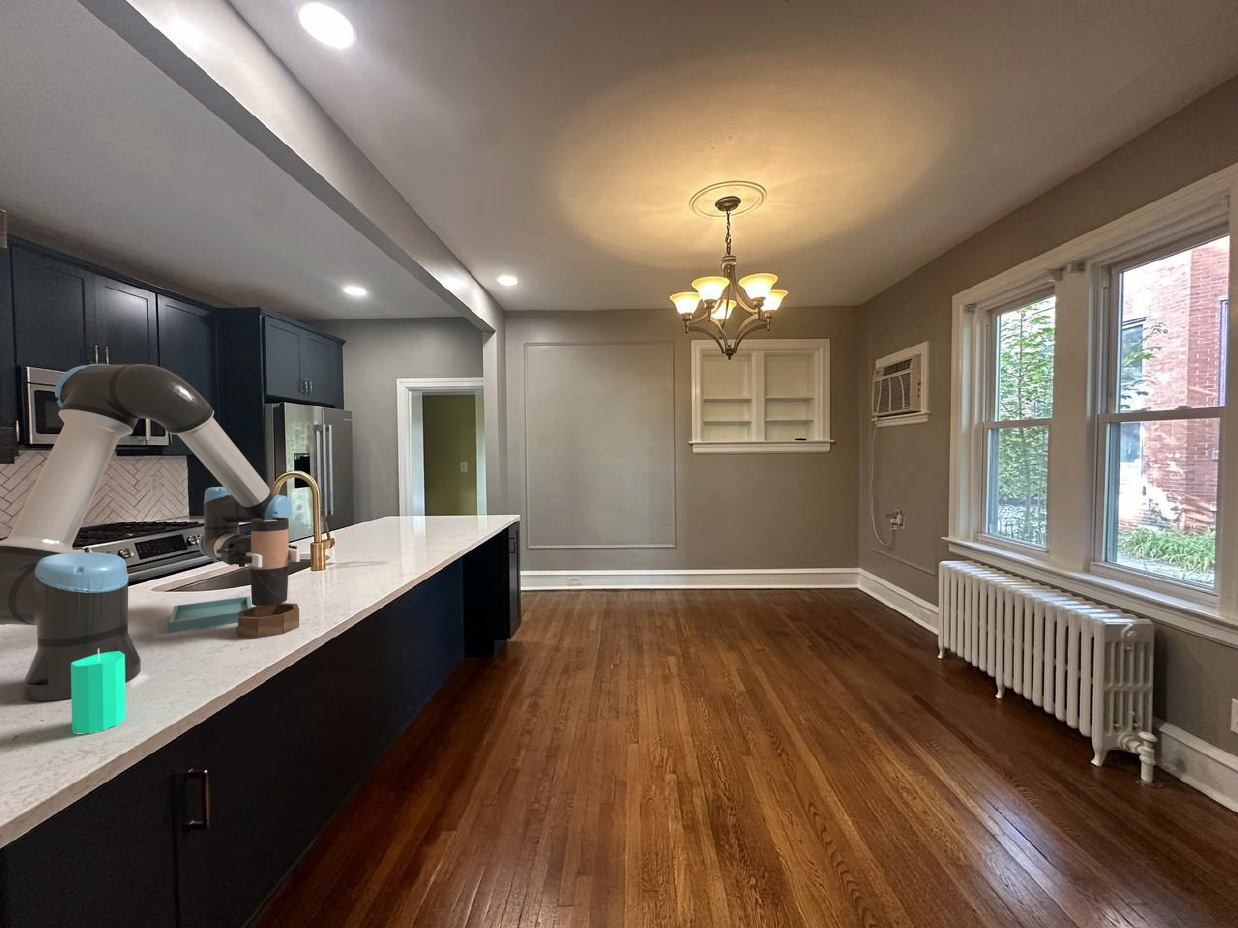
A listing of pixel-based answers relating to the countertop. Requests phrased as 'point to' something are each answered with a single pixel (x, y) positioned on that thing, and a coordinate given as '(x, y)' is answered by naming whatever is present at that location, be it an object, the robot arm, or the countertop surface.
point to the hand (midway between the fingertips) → (279, 558)
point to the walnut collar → (268, 620)
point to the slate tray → (207, 613)
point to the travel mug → (270, 561)
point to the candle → (98, 692)
